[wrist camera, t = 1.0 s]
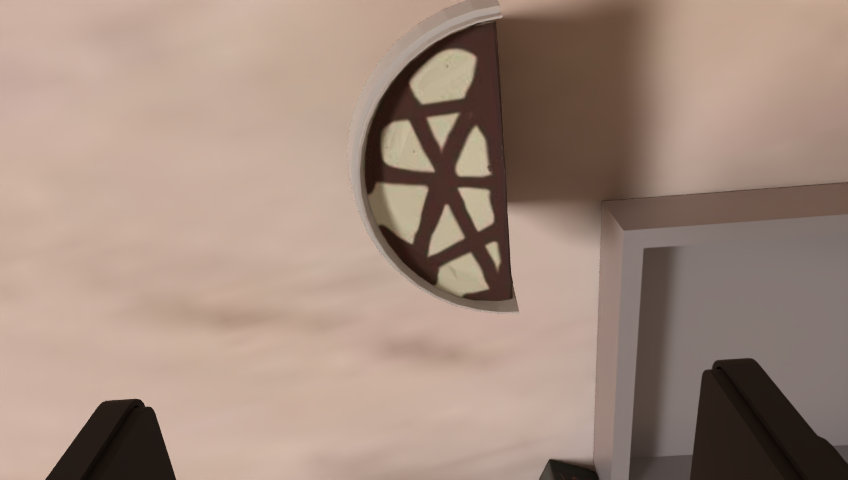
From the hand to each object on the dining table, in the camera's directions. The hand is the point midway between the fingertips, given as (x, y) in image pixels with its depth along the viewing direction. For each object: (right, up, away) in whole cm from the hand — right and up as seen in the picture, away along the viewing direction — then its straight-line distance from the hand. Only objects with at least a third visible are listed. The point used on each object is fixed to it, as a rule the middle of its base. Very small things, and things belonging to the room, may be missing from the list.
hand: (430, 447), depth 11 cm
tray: (+19, -2, +26) cm, 33 cm away
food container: (0, +10, +22) cm, 24 cm away
